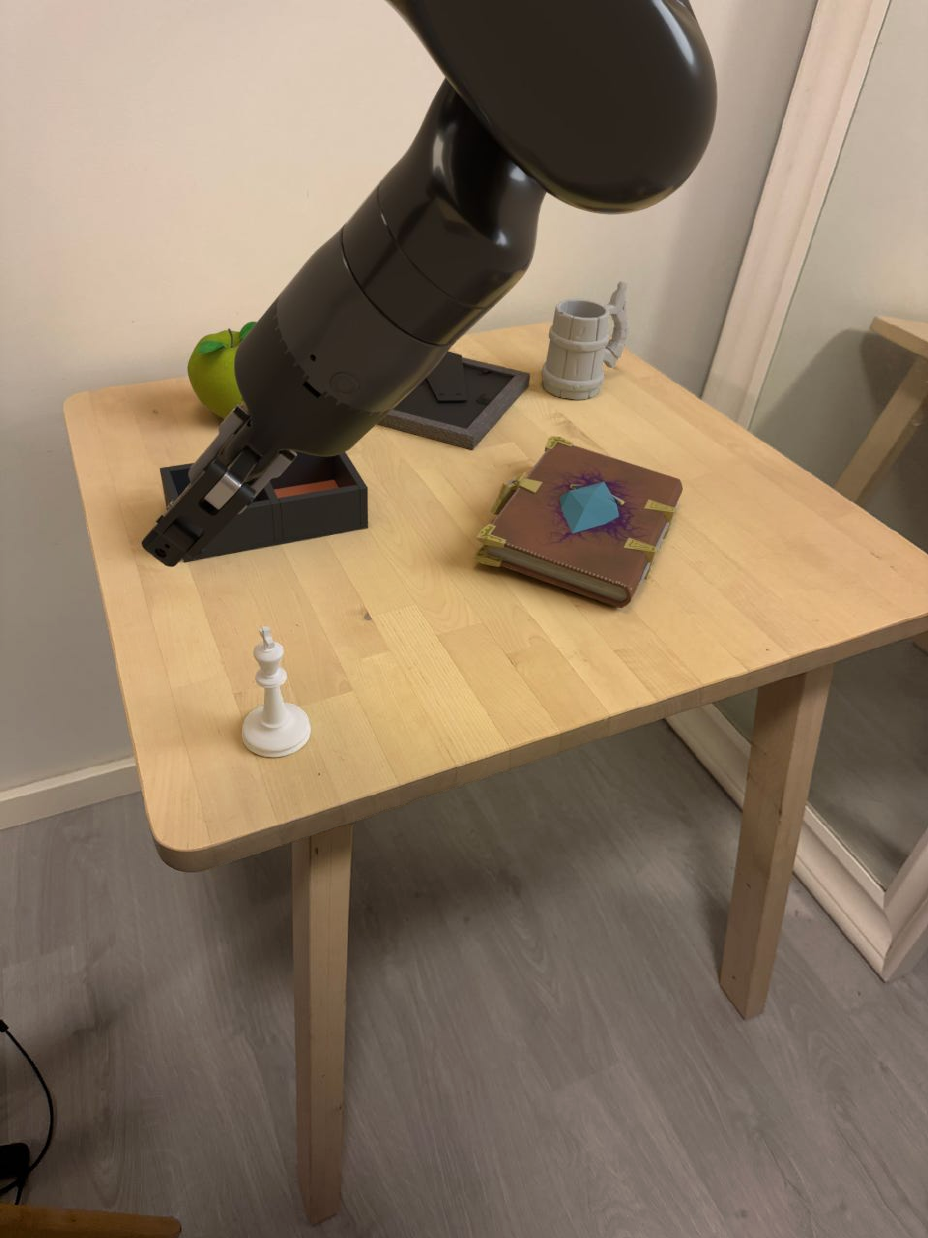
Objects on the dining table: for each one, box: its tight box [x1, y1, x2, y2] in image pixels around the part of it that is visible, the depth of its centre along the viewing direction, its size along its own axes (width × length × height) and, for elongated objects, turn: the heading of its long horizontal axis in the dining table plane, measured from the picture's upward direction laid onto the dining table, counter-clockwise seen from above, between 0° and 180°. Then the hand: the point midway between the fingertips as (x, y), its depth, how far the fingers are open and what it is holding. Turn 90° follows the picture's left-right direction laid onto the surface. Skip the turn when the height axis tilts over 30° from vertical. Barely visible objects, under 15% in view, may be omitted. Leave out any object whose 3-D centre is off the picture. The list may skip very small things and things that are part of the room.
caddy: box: [159, 451, 369, 563], centre depth 85 cm, size 17×9×4 cm, turn 113°
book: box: [472, 435, 684, 609], centre depth 88 cm, size 16×25×5 cm, turn 157°
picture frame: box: [376, 350, 531, 451], centre depth 106 cm, size 13×2×18 cm
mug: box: [541, 280, 630, 401], centre depth 109 cm, size 8×12×12 cm, turn 126°
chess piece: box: [241, 625, 312, 758], centre depth 62 cm, size 5×5×10 cm
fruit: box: [187, 321, 258, 420], centre depth 98 cm, size 9×9×10 cm
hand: (191, 509), depth 54 cm, fingers open, 8 cm apart
